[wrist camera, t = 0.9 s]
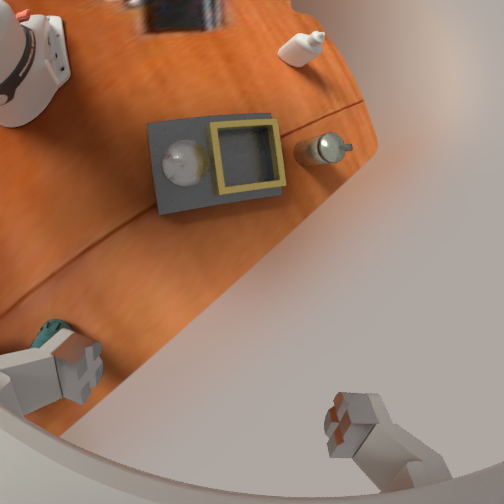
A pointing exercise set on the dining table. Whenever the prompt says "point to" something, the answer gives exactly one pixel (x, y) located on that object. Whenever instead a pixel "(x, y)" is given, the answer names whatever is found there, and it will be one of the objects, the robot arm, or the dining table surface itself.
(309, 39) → the eye dropper bottle
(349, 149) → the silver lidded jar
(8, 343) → the dining table surface
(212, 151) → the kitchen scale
